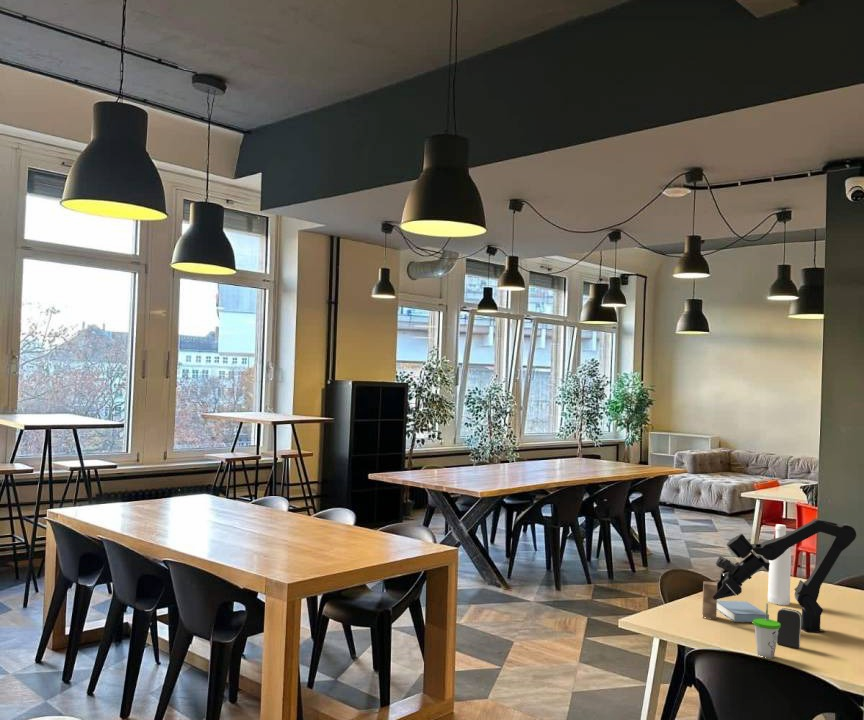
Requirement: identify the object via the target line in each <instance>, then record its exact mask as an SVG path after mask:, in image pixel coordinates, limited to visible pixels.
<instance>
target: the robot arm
mask: <svg viewBox="0 0 864 720" xmlns="http://www.w3.org/2000/svg"><path fill="white" fill-rule="evenodd" d="M818 533H823V534H827V535H829V536H830V540H829V543H828V545H827V547H826V549H825V551H824V552H823V554H822V555H821V558H820V559H819V561H818V563H816V565H815V567H814V569H813V570H812V572H811V574H810V576H809V577H808V579H806V580H805V581H803V580H801V579H800V580H799V582H798V584H797V586H796V587H795V588H794V591H795V592H794V599H795V601H796V602H797V603H798V605H799V606H800V607H801V615H802V627H801V630H802V631H805V632H806V633H807V632H808V633H825V630H824V629H822V628H821V617H822V616H821V615H822V614H823V612H824V609H823V608H822V606H821V605H820V603H818V602H817V601H818V598H819V595H820V592H821V591H820V590H821V586H822V585H823V583H824V581H825V580H826V578H827V576H828V575H829V573H830V572H831V570H832V569H833V567H834V565H835V563H836V562H837V560H838V558H839V557H840V555H841V554H842V552H843V551H845V550H846V549H847V548H848V547H849V546H850V545H851V544H852V543H853V542H854V541H855V540H856V538H857V532H856V529H855V528H854V527H853V526H851V525H850V524H848V523H846V522H839V523H836V522H832V521H826V520H822V519H820V518H814V519H812V520H811V521H810V522H808V523H806V524H804V525H802V526H800V527H798V528H796V529H794V530H792V531H791V532H788V533H786V535H784V536H782V537H779V538H776V537H775V538H770V539H768V540H764V541H763V542H762V543H751V542H749V540H748V539H747V538H746V536H745V535H744V534H743V533H740V534H739V535H736V536H735V537H732V538H731V539H730V540H729V541H728V542H726V543H727V544H726V546H727V548H729V550H730V551H731V552H732V553H733V554H734V555H735V556H736V557H737V558H738V559H740V558H741V559H743V560H741V561H740V562H739V561H738V562H737V561H736V562H735V563H734V562H732V561H731V560H730V559H728V558H725V557H723V556H722V555H719V556H718V559H717V561H716V562H715V566H716V567H719V568H720V569H721V572H720V579H719V580H718V581H717V582H716V583H717V593H716V594H715V595H714V596H713V599H714V600H716V599H717V600H720V599H724V598H729V597H733V596H734V597H735V596H739V595H740V594H741V593H742V590H743V588H742V586H743V584H744V583H745V582H746V581H747V580H750V579H752V577H753V576H754V575H755V574H756V573H758V572H759V571H760V570H762V569H763V568H764V569H765V570H766V571H768V572H769V565H770V563H769V560H775V559H777V558H778V557H779V556H780V555H782V554H783V553H784V552H785V551H786V550H787V549H788V548H790V549H791V547H793V546H796V545H797V544H799V543H801V542H803V541H805V540H807V539H808V538H810V537H813V536H815V535H816V534H818ZM756 554H757V555H756ZM764 559H766V560H768V561H766V560H764Z"/></svg>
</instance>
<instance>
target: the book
mask: <svg viewBox="0 0 864 720" xmlns="http://www.w3.org/2000/svg"><path fill="white" fill-rule="evenodd" d="M718 610H719V611H720V612H719V611H718ZM717 611H718V612H719V613H721V614H722V613H723V614H722V615H724V616H725V615H726V616H727V617H726V616H725V617H726V618H728V617H729V618H730V619H729V618H728V619H729V620H731V619H732V620H733V621H732V620H731V621H732V622H733V623H735V622H753V620H754V619H757V618H763V619H766V611H765V612H764V611H763V610H761V609H760V608H759V607H757V606H755V605H753V604H751V603H750V602H748V601H743V600H742V601H741V600H738V601H737V600H717ZM768 619H770V615H769V614H768Z"/></svg>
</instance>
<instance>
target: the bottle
mask: <svg viewBox="0 0 864 720" xmlns="http://www.w3.org/2000/svg"><path fill="white" fill-rule="evenodd" d="M774 529H775V538H779V537H782V536H784V535H786V534H787V525H785V524H779V523H778V524H777V523H776V524H775V528H774ZM791 561H792V551H791V547H790V548H788V549H787V550H786V551H785V552H784V553H783V554H782V555H780V556H779V557H778V558H777V559H775V560H768V562H769V563H770V565H769V571H768V581H767V582H768V584H767V588H768V589H767V602H768V603H769V602H770V603H769V604H772V603H773V605H776V604H778V605H777V606H789V605H790V601H791V573H792V572H791V571H792V570H791V568H792V562H791Z"/></svg>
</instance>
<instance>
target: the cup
mask: <svg viewBox="0 0 864 720" xmlns="http://www.w3.org/2000/svg"><path fill="white" fill-rule="evenodd" d="M768 612H769V603H765V613H766V619H763V618H757V619H754V620H753V623H752V624H753V625H754V634H755V644H756V653H757V654H758V655H760V656H763V657H766V658H771V659H772V660H773V659H774V658H775V653H776V649H777V637H778V631H779V628H780V627H781V624H780V623H779V622H777V620H774V619H770V618H769V619H768V615H769V613H768ZM757 654H756V655H757ZM758 655H757V656H758ZM766 658H765V659H766ZM771 659H770V660H771Z"/></svg>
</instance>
